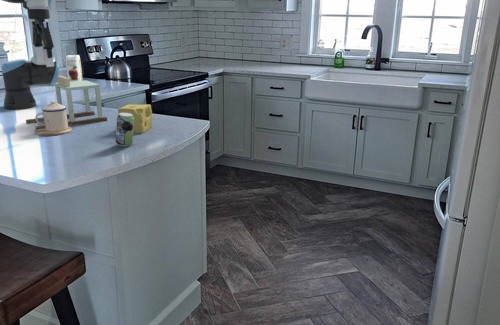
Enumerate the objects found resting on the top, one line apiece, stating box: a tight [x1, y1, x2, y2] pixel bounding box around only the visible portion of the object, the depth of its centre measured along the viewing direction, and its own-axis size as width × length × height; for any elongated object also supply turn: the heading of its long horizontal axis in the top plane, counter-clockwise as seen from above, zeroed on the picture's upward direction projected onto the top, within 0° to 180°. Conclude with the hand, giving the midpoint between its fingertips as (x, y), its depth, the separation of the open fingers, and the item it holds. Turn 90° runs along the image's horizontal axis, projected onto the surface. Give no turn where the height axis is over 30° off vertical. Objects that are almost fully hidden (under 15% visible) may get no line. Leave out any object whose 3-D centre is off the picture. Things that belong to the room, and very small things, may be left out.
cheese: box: [117, 103, 153, 134], centre depth 196 cm, size 10×11×10 cm
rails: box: [25, 110, 108, 131], centre depth 212 cm, size 18×30×2 cm, turn 127°
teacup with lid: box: [35, 100, 69, 132], centre depth 193 cm, size 12×9×12 cm
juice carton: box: [65, 54, 84, 82], centre depth 316 cm, size 8×9×19 cm
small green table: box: [54, 75, 104, 122], centre depth 212 cm, size 17×14×18 cm
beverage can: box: [115, 113, 134, 147], centre depth 173 cm, size 6×7×12 cm
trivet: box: [34, 126, 73, 137], centre depth 195 cm, size 14×14×1 cm
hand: (45, 65), depth 188 cm, fingers open, 13 cm apart
